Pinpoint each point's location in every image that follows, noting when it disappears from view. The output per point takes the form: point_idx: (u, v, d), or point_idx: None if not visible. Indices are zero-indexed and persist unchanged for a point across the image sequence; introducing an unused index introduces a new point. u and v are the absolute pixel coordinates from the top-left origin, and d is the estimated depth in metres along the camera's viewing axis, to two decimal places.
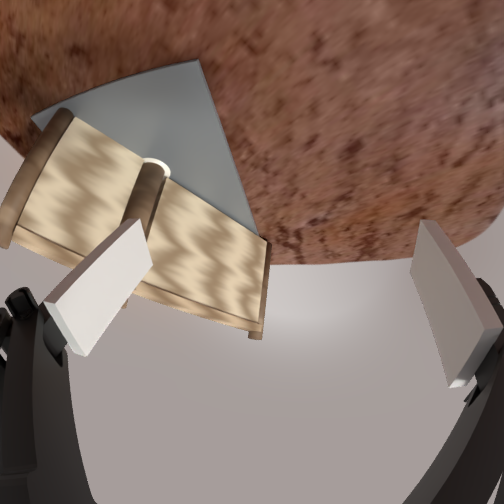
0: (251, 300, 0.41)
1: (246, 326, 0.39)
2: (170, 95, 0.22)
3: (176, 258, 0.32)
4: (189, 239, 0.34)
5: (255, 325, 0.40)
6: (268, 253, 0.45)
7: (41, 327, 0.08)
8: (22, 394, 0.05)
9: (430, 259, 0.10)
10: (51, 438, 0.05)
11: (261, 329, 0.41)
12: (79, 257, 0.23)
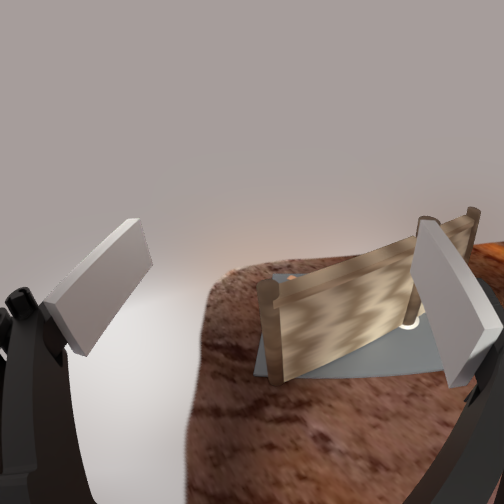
0: (297, 321, 0.28)
1: (304, 290, 0.26)
2: None
3: (393, 287, 0.32)
4: (382, 308, 0.34)
5: (287, 301, 0.26)
6: (281, 376, 0.32)
7: (41, 327, 0.08)
8: (22, 394, 0.05)
9: (430, 259, 0.10)
10: (51, 438, 0.05)
11: (273, 304, 0.26)
12: (451, 235, 0.32)
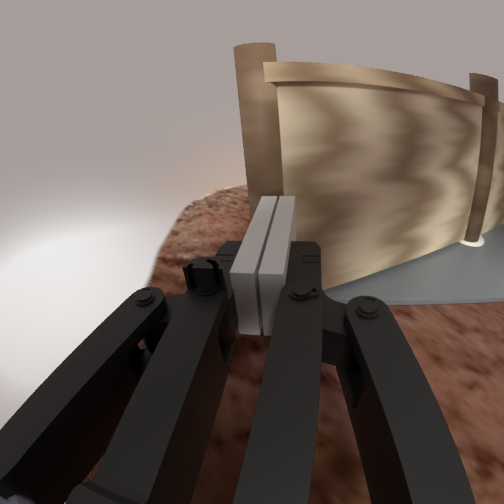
0: (313, 138, 0.14)
1: (323, 65, 0.12)
2: None
3: (457, 150, 0.17)
4: (445, 186, 0.19)
5: (292, 74, 0.12)
6: None
7: (221, 314, 0.08)
8: (165, 399, 0.05)
9: None
10: (179, 459, 0.05)
11: (264, 69, 0.11)
12: None
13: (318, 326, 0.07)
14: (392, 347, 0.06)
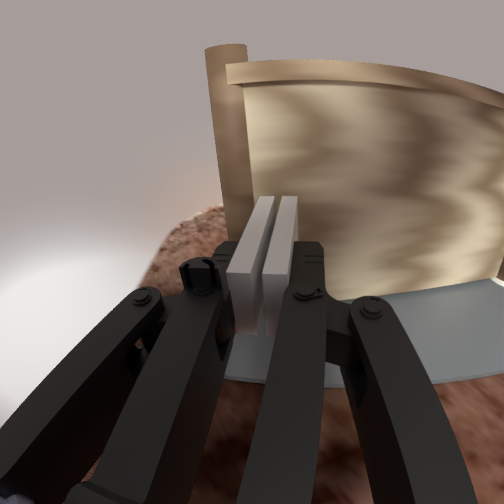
0: (287, 142, 0.13)
1: (297, 62, 0.11)
2: None
3: (491, 168, 0.13)
4: (472, 210, 0.15)
5: (257, 74, 0.11)
6: None
7: (218, 313, 0.08)
8: (162, 399, 0.05)
9: None
10: (176, 458, 0.05)
11: (227, 72, 0.11)
12: None
13: (322, 326, 0.07)
14: (396, 347, 0.06)
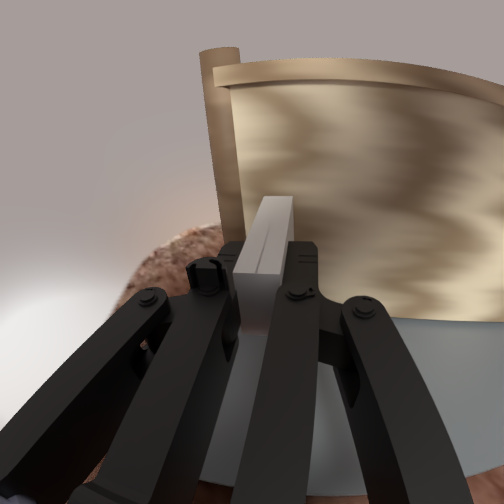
0: (272, 143, 0.13)
1: (279, 62, 0.11)
2: None
3: None
4: (492, 239, 0.12)
5: (241, 76, 0.12)
6: None
7: (224, 314, 0.08)
8: (168, 400, 0.05)
9: None
10: (181, 459, 0.05)
11: (214, 74, 0.12)
12: None
13: (315, 326, 0.07)
14: (388, 347, 0.06)
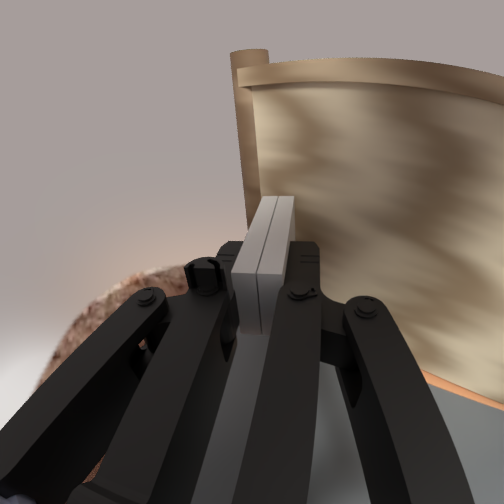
0: (284, 145, 0.13)
1: (288, 64, 0.11)
2: None
3: None
4: None
5: (258, 78, 0.12)
6: None
7: (223, 314, 0.08)
8: (166, 400, 0.05)
9: None
10: (180, 459, 0.05)
11: (238, 75, 0.13)
12: None
13: (316, 326, 0.07)
14: (391, 347, 0.06)
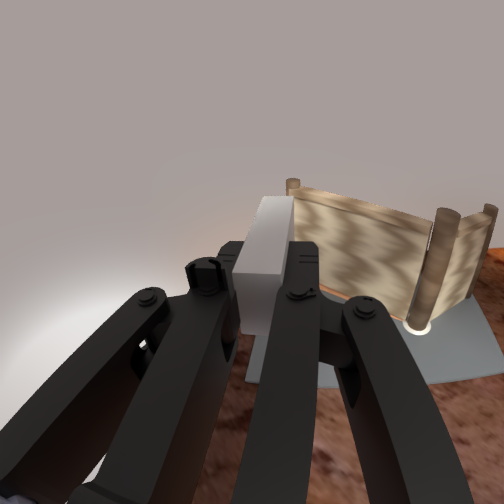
0: (304, 218, 0.41)
1: (307, 194, 0.38)
2: (486, 353, 0.27)
3: (391, 254, 0.33)
4: (379, 271, 0.35)
5: (297, 195, 0.40)
6: None
7: (224, 314, 0.08)
8: (167, 400, 0.05)
9: None
10: (181, 459, 0.05)
11: (289, 191, 0.40)
12: (469, 231, 0.28)
13: (315, 326, 0.07)
14: (389, 347, 0.06)
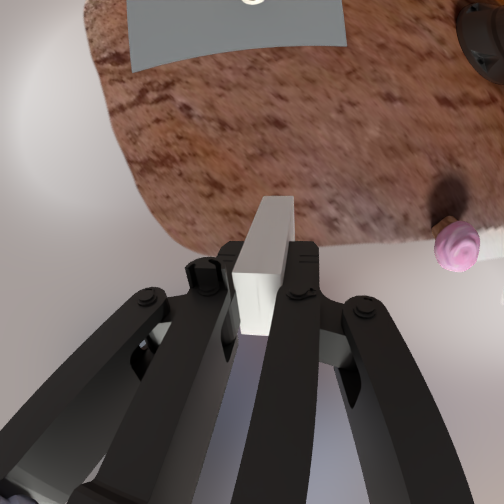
0: None
1: None
2: (324, 25, 0.32)
3: None
4: None
5: None
6: None
7: (224, 314, 0.08)
8: (167, 400, 0.05)
9: None
10: (181, 460, 0.05)
11: None
12: None
13: (315, 326, 0.07)
14: (389, 347, 0.06)
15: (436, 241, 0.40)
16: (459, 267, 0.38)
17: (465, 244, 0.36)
